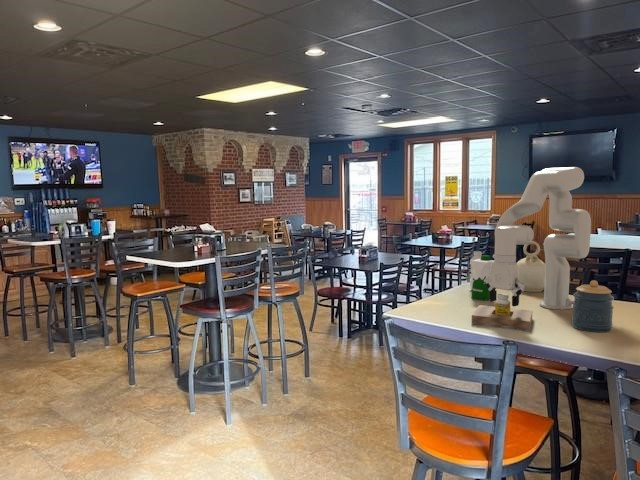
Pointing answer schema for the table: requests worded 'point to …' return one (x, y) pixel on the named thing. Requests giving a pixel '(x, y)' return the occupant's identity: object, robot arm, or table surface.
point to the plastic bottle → (476, 256)
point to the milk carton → (481, 277)
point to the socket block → (502, 318)
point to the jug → (531, 270)
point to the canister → (592, 308)
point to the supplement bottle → (502, 305)
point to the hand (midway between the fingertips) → (503, 303)
